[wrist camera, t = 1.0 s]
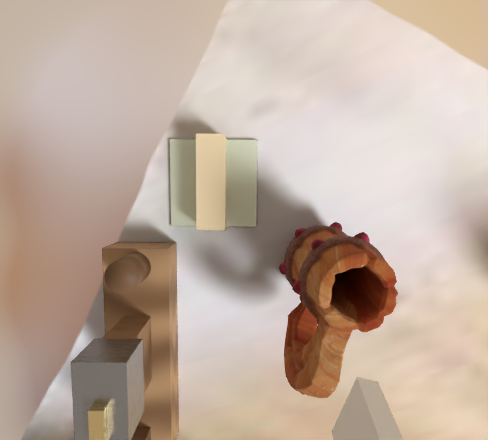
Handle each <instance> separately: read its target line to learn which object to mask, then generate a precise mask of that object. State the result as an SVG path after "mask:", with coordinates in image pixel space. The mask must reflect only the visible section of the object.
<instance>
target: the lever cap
mask: <svg viewBox="0 0 488 440" xmlns="http://www.w3.org/2000/svg"><path fill="white" fill-rule="evenodd" d="M71 374H72V395H73V417H74V438H75V440H131V439H132V436H133V434H134V432H135V430H136V427H137V425H138V423H139V421H140V419H141V416H142V414H143V412H144V376H143V339H94V340H93V341H92V342H91V343H90V344H89V345H88V346H87V347H86V348H85V349H84V350H83V351H82V352H81V353H80V354H79V355H78V356H77V357H76V358H75V359H74V360H73V361H72V362H71Z"/></svg>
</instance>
